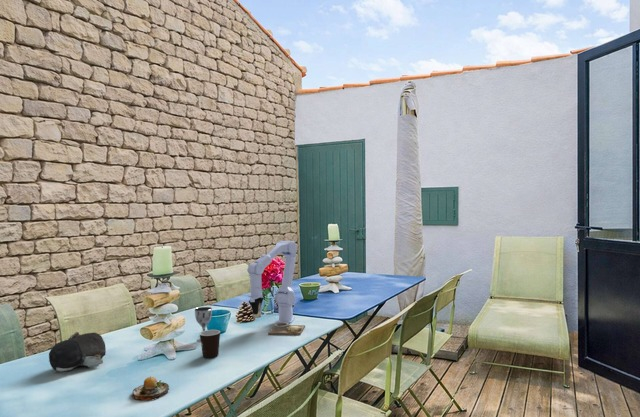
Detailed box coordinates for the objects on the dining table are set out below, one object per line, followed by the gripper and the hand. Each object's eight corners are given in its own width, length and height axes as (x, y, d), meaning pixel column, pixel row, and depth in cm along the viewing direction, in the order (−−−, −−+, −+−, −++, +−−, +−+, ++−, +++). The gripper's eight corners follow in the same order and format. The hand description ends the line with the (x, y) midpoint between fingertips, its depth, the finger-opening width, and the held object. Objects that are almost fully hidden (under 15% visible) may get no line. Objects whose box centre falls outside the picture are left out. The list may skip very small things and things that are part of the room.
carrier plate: (275, 326, 230) (275, 321, 230) (305, 327, 227) (304, 321, 227) (268, 334, 216) (268, 328, 216) (299, 335, 214) (299, 329, 214)
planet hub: (254, 315, 226) (253, 302, 226) (261, 316, 226) (261, 302, 226) (251, 317, 222) (251, 304, 222) (259, 318, 222) (259, 304, 222)
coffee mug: (218, 359, 183) (217, 335, 183) (197, 359, 183) (196, 335, 183) (224, 350, 195) (224, 327, 194) (205, 350, 195) (204, 328, 195)
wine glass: (214, 337, 214) (214, 306, 214) (209, 342, 206) (208, 310, 206) (199, 337, 215) (198, 306, 215) (192, 342, 207) (192, 310, 207)
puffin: (109, 373, 184) (119, 346, 182) (61, 390, 165) (72, 360, 163) (81, 348, 192) (91, 321, 190) (33, 361, 173) (43, 332, 171)
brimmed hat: (173, 386, 157) (172, 365, 157) (162, 400, 145) (162, 378, 145) (139, 387, 157) (139, 366, 157) (126, 402, 145) (125, 379, 145)
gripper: (252, 283, 232) (253, 309, 232) (244, 289, 217) (244, 316, 217) (265, 283, 231) (266, 309, 231) (257, 289, 216) (258, 316, 216)
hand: (256, 313), depth 224 cm, fingers closed on planet hub, 4 cm apart
